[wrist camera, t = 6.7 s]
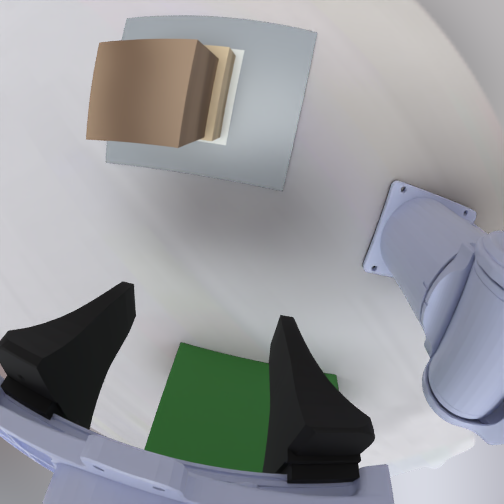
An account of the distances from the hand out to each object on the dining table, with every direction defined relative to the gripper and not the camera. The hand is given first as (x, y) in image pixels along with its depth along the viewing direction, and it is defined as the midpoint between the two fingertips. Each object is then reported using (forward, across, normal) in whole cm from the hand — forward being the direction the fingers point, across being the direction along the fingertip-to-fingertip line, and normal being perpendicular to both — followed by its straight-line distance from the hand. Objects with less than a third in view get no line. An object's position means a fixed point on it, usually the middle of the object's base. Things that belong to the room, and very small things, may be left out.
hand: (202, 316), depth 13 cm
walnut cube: (+7, +5, -10) cm, 13 cm away
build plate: (+10, +4, -10) cm, 15 cm away
